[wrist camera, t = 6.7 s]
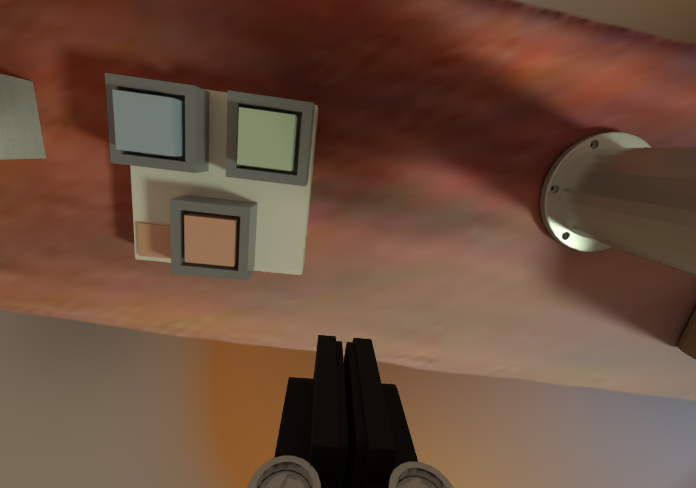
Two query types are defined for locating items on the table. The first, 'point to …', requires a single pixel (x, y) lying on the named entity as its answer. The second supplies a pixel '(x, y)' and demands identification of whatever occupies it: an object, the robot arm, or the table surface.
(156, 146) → the slate button
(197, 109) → the button panel
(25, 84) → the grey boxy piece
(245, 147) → the sage button
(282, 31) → the table surface
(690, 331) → the wooden block
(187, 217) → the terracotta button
